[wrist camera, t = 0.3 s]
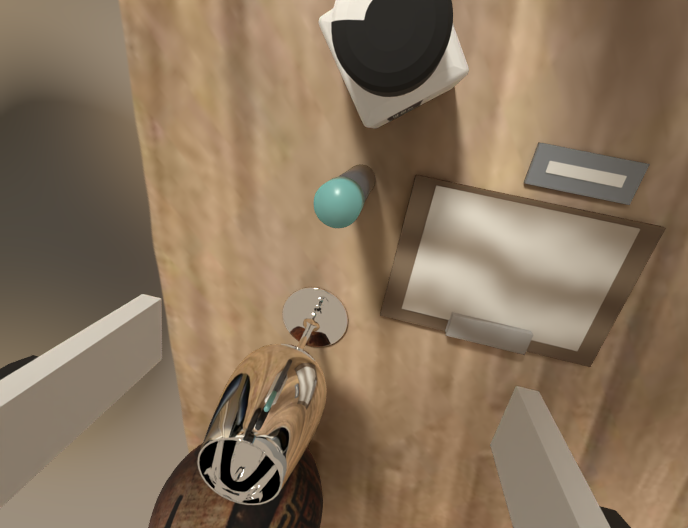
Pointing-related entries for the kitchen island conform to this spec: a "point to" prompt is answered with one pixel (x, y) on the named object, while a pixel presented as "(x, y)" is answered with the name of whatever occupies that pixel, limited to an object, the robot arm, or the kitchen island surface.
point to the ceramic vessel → (232, 518)
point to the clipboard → (514, 270)
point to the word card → (585, 173)
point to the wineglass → (272, 405)
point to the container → (394, 53)
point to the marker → (344, 196)
